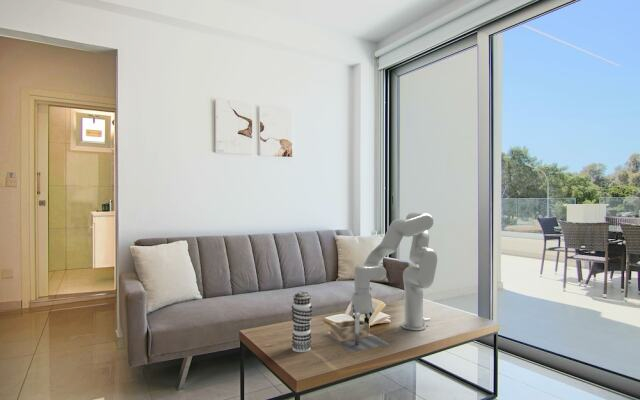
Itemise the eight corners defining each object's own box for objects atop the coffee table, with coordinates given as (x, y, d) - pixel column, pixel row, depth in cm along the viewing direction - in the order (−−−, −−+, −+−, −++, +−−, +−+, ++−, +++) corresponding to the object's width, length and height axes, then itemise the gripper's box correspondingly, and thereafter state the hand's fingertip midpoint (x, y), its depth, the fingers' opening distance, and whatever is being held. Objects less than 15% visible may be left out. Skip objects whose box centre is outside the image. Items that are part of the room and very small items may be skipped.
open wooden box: (358, 328, 198) (358, 318, 198) (369, 334, 189) (369, 324, 189) (330, 333, 191) (330, 322, 191) (340, 339, 182) (340, 329, 182)
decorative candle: (300, 343, 181) (301, 289, 181) (316, 348, 175) (316, 292, 175) (287, 348, 174) (287, 293, 174) (302, 354, 168) (302, 296, 168)
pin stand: (359, 329, 201) (360, 299, 201) (390, 346, 178) (390, 312, 178) (323, 335, 192) (323, 303, 192) (350, 354, 168) (350, 318, 168)
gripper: (372, 287, 200) (371, 322, 200) (343, 290, 193) (343, 327, 193) (380, 290, 194) (380, 327, 194) (351, 294, 186) (350, 332, 186)
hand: (361, 326), depth 193 cm, fingers open, 4 cm apart
